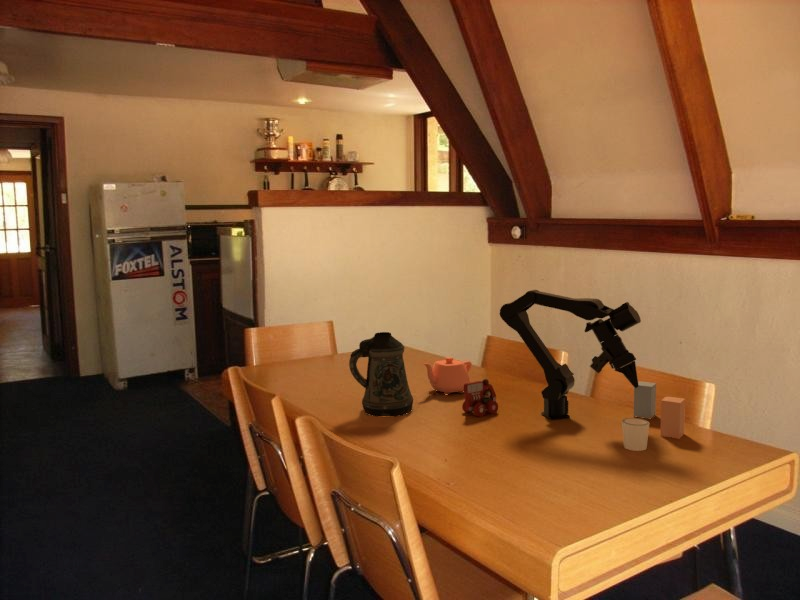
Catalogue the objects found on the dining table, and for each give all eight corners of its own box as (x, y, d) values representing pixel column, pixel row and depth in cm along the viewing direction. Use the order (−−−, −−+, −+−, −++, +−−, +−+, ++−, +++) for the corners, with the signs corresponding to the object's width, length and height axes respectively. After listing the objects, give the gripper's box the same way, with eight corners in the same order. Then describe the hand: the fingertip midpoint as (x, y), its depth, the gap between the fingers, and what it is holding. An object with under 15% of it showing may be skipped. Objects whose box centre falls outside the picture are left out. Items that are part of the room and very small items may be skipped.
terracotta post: (660, 435, 187) (661, 400, 186) (665, 430, 191) (666, 396, 190) (679, 438, 184) (680, 402, 183) (683, 433, 188) (685, 398, 187)
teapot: (413, 391, 241) (413, 357, 239) (461, 384, 250) (460, 351, 248) (433, 400, 229) (432, 364, 227) (482, 391, 238) (481, 357, 237)
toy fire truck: (502, 411, 213) (502, 379, 212) (472, 419, 206) (472, 385, 205) (488, 407, 219) (487, 375, 218) (458, 414, 212) (457, 381, 211)
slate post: (633, 417, 205) (634, 384, 204) (638, 413, 209) (639, 381, 208) (650, 419, 202) (651, 386, 201) (655, 415, 206) (656, 383, 205)
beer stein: (424, 408, 218) (422, 332, 215) (381, 422, 204) (379, 340, 201) (387, 400, 230) (385, 327, 227) (344, 413, 216) (342, 335, 213)
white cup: (648, 444, 181) (649, 418, 180) (649, 452, 174) (649, 426, 173) (621, 441, 183) (622, 416, 182) (621, 450, 176) (621, 424, 175)
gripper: (583, 352, 206) (609, 398, 203) (584, 351, 188) (612, 402, 185) (616, 334, 204) (643, 381, 201) (620, 332, 186) (650, 383, 183)
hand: (636, 387), depth 193 cm, fingers closed
